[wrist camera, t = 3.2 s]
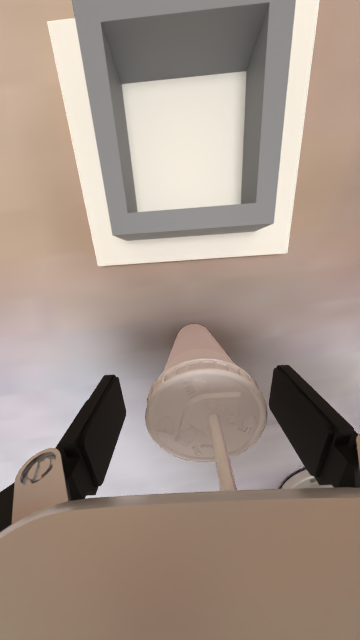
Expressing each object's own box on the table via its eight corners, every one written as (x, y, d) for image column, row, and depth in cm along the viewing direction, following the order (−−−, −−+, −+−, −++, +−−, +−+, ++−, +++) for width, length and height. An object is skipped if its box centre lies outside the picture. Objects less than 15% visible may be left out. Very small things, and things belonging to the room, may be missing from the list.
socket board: (308, 13, 11) (378, -125, 7) (280, 253, 15) (313, 250, 11) (58, 41, 11) (-6, -73, 7) (103, 265, 16) (77, 267, 12)
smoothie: (237, 337, 18) (401, 561, 4) (195, 376, 19) (225, 625, 6) (191, 297, 16) (229, 445, 3) (151, 343, 18) (64, 566, 5)
